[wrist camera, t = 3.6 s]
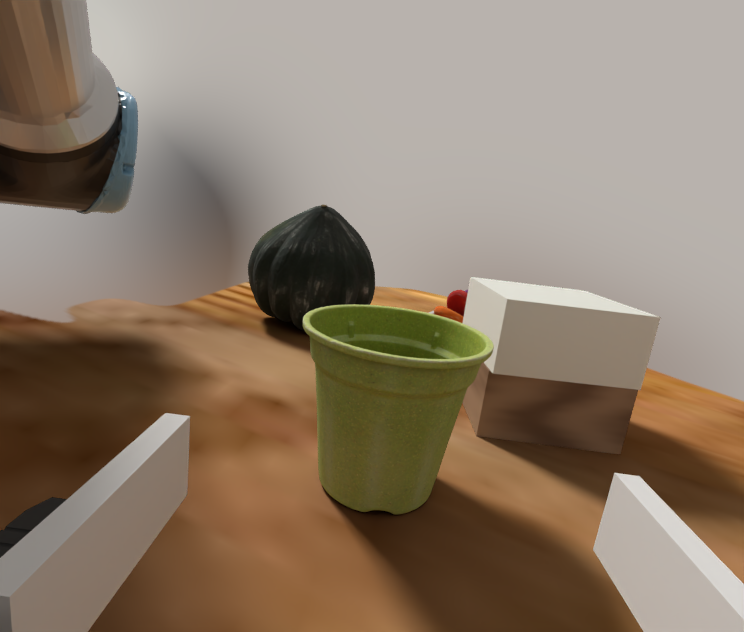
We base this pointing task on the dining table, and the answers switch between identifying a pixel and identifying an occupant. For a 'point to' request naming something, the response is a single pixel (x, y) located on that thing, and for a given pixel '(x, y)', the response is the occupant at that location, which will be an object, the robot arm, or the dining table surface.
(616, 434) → the walnut base block
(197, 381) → the dining table surface
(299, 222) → the squash
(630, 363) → the pale top block
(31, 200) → the robot arm
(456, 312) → the rainbow petal cluster
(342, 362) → the plant pot
